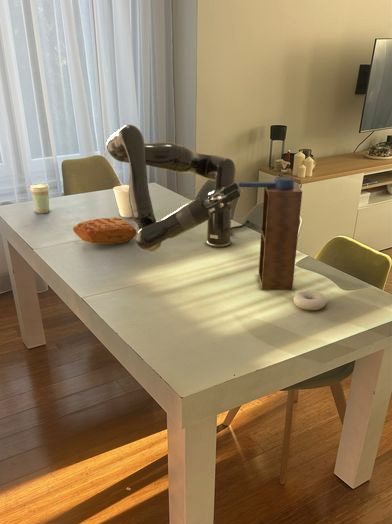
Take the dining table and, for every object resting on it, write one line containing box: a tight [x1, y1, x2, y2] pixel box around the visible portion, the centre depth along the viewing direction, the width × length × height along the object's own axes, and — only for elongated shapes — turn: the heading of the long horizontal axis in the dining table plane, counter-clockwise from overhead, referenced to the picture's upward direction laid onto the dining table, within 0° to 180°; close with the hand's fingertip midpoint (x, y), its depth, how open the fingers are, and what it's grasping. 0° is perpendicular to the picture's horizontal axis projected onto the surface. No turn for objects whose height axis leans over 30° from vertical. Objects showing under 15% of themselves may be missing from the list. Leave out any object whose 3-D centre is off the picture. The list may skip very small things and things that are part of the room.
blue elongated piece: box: [237, 176, 295, 189], centre depth 166 cm, size 17×6×2 cm, turn 90°
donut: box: [293, 290, 327, 311], centre depth 167 cm, size 10×4×10 cm
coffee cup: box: [29, 183, 50, 214], centre depth 251 cm, size 8×9×12 cm
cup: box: [112, 184, 133, 218], centre depth 246 cm, size 12×12×12 cm
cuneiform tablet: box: [72, 216, 138, 245], centre depth 216 cm, size 22×17×8 cm
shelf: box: [257, 181, 303, 291], centre depth 175 cm, size 10×12×32 cm
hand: (238, 188), depth 167 cm, fingers open, 8 cm apart
